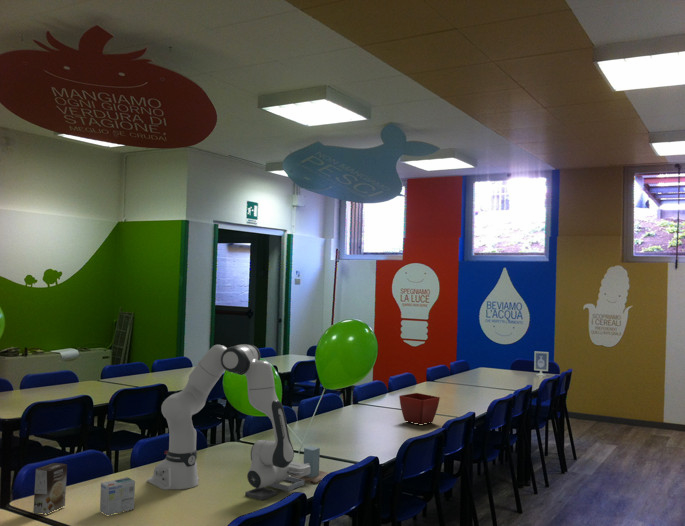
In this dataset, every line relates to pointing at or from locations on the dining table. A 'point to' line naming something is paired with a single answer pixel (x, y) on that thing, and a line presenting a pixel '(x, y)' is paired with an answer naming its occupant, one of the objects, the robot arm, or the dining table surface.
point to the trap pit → (261, 493)
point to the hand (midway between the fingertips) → (299, 462)
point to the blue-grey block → (312, 460)
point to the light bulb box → (117, 496)
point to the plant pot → (419, 407)
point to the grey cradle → (296, 484)
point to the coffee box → (50, 488)
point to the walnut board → (313, 480)
